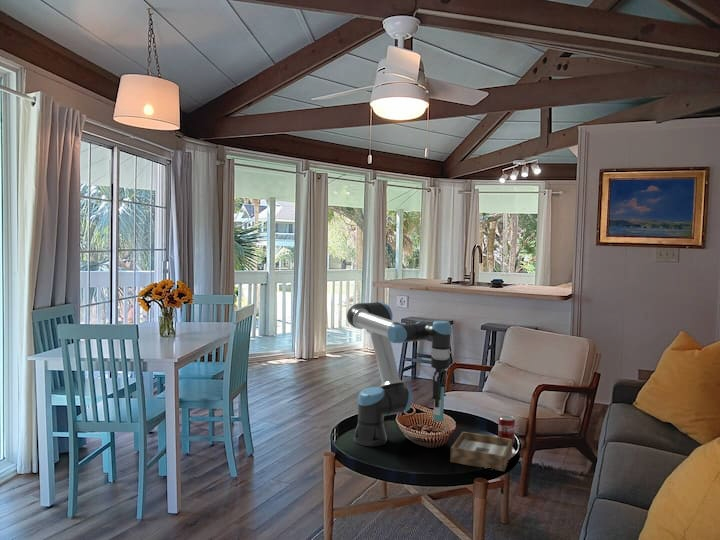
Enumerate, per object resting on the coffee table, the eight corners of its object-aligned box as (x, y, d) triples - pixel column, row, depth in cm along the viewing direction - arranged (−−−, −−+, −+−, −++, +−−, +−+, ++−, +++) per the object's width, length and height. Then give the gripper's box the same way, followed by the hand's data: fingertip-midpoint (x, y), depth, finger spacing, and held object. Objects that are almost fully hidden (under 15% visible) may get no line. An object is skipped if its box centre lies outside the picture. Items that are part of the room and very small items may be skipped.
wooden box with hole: (450, 461, 231) (450, 447, 231) (461, 444, 252) (462, 431, 251) (504, 471, 223) (504, 456, 223) (511, 452, 243) (512, 439, 243)
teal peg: (432, 420, 234) (433, 388, 233) (434, 418, 238) (436, 385, 237) (441, 422, 232) (443, 389, 231) (444, 419, 236) (445, 387, 235)
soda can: (514, 447, 250) (515, 421, 249) (498, 445, 251) (499, 419, 250) (513, 441, 257) (514, 416, 256) (497, 440, 258) (498, 414, 258)
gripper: (444, 363, 224) (442, 420, 225) (454, 355, 240) (451, 408, 241) (426, 361, 227) (424, 417, 228) (437, 353, 243) (435, 406, 244)
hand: (438, 412), depth 235 cm, fingers closed on teal peg, 4 cm apart
